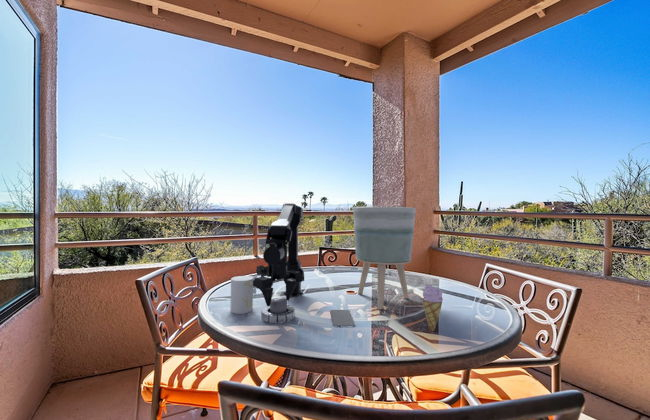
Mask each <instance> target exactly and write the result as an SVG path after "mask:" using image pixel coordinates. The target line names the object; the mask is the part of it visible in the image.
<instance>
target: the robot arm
mask: <svg viewBox="0 0 650 420" xmlns="http://www.w3.org/2000/svg"><path fill="white" fill-rule="evenodd" d="M281 209H282V210H281V212H280V214H279V216H278V219H277V220H275V221H272V223H271V225H270V226H269V227H268V230H267V235H266V239H265V245H268V247H266V248H265V250H264V251H263V254H262V256H263V257H262V258H263V260H264V261H265V263H267V266H264V265H263V264H262V265H258V266H256V269H255V270H256V271H255V272H256V275H257V276H258V277H255V278H253V288H254V287H255V288H256V289H257V290H258V289H259V290H260V292H261V293H262V295H263V298H264V302H265V304H266V307H269V306H270V304H271V299H273V298H272V297H273V292H274V287H273V285H274V283H279V282H284V284H285V292H283V294H284V295H285V299H287V301H289V300H290V299H291V297H297V296H299V295H303V294H304V292H303V291H301V290H302V289H301V288H302V285H301V284H302V282H304V281H305V271H304V270H303V267H302V262H301V261H300V259H299V225H300V224H301V223H302V219H303V218H304V210H303V208H302V207H301V206H298V205H297V204H296V203H293V202H292V203H291V202H290V203H289V202H285V203H283V205H282V208H281Z"/></svg>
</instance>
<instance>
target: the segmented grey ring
mask: <svg viewBox="0 0 650 420" xmlns="http://www.w3.org/2000/svg"><path fill="white" fill-rule="evenodd" d="M260 312H261V313H260V314H261V317H260V318H261V320H262V321H263V322H266V323H268V324H284V323H288V322H292V321H293V319H294V318H295V317H296V316H295V315H296V311H295V308H294V307H293V306H291V305H288V304H287V312H286V313H281V314H272V313H270V306H269V307H268V306H265V307H263V308H262V309H261V311H260Z"/></svg>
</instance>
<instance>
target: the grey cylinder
mask: <svg viewBox="0 0 650 420" xmlns="http://www.w3.org/2000/svg"><path fill="white" fill-rule="evenodd" d="M253 280H254V277H253V276H250V275H239V276H233V277H231V278H230V313H232V314H239V315H240V314H247V313H250V312H252V311H253V309H254V307H253V305H254V303H253V302H254V300H253V299H254V286H253Z"/></svg>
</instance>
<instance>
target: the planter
mask: <svg viewBox="0 0 650 420" xmlns="http://www.w3.org/2000/svg"><path fill="white" fill-rule="evenodd" d="M352 212H353V215H352V216H353V232H354V247H355V249H354V250H355V259H356V260H357V261H358V262H362V263H363V265H362V268H361V269H362V270H361V275H360V281H359V285H358V290H357V294H358V295H363V293H364V288H365V286H366V282H367V279H368V275H369V270H370V267H371V264H373V265H377V309H378V310H384V302H385V301H384V300H385V283H386V270H387V268H386V267H387V266H390V265H391V266H393V265H395V267H396V271H397V274H398V280H399V282H400V287H401V290H402V295H403V298H404V299H406V300H409V298H410V296H409V291H408V284H407V279H406V273H405V266H404V265H406V264H409V263H411V261H412V254H413V253H412V251H413V240H414V233H415V232H414V230H415V220H416V207H408V206H406V207H403V206H402V207H401V206H399V207H398V206H354V207H352Z"/></svg>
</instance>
